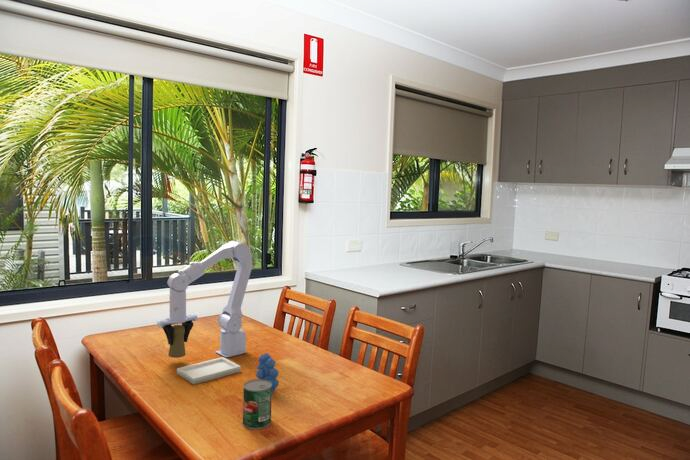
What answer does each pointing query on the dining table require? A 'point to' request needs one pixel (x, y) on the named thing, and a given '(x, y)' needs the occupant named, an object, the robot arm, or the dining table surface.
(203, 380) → the white tray
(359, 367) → the dining table surface
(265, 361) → the grapes
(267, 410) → the canned tomato
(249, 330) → the dining table surface
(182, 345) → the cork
